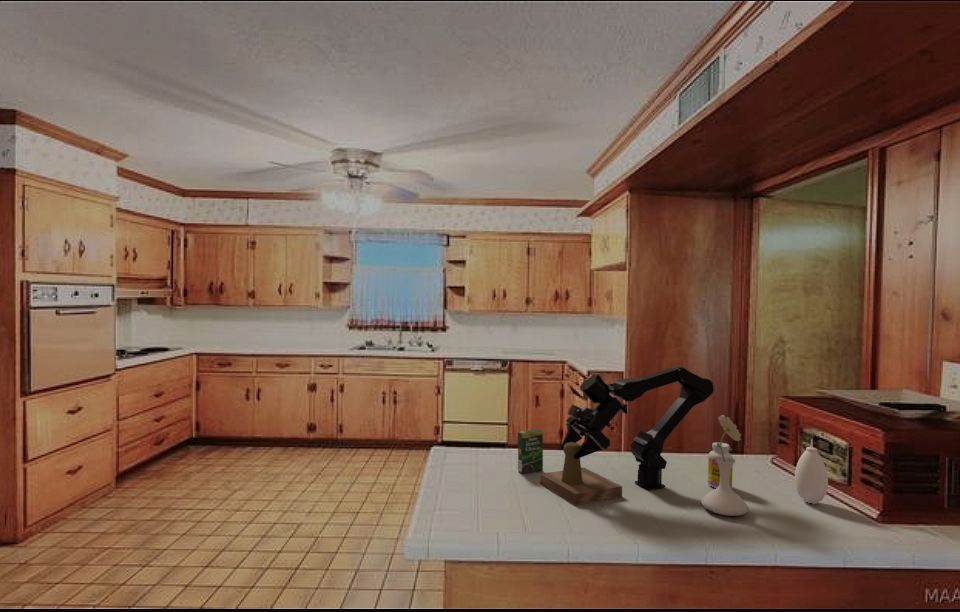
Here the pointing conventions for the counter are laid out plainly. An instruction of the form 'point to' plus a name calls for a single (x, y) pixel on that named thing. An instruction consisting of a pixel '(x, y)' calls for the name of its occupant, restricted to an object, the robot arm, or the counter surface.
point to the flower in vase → (725, 480)
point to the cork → (571, 465)
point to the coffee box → (530, 451)
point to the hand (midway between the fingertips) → (567, 453)
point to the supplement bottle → (713, 465)
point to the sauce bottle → (811, 476)
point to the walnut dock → (582, 487)
